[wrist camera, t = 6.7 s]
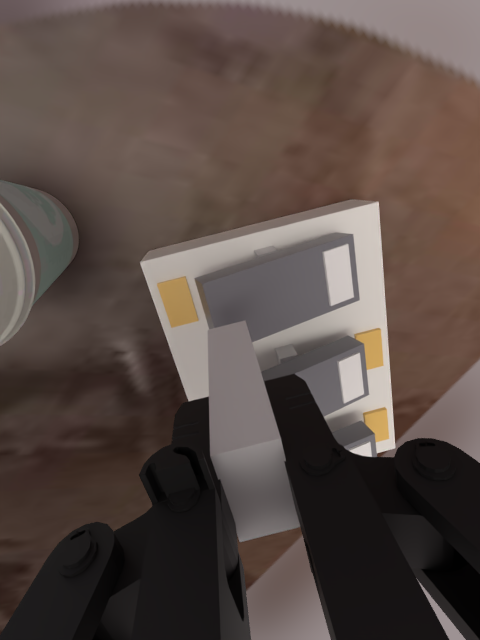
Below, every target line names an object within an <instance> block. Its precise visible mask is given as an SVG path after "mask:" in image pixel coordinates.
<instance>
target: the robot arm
mask: <svg viewBox="0 0 480 640" xmlns="http://www.w3.org/2000/svg"><path fill="white" fill-rule="evenodd" d="M208 377H209V396H208V397H204V398H200V399H196V400H192V401H188V402H184V403H183V404H182V405H181V407H180V408H179V410H178V411H177V413H176V414H175V420H174V427H173V428H174V430H173V435H172V440H173V441H172V443H171V445H168V446H166V447H163V448H162V449H160V450H159V451H157V452H156V453H154V454H153V455H152V456H151V457H150V458H149V459H148V460H147V461H146V463H145V464H144V465H143V467H142V470H141V472H140V474H139V476H140V478H141V481H142V483H143V485H144V487H145V489H146V491H147V493H148V495H149V498H150V500H151V502H152V504H153V505H152V508H150V509H149V510H148V511H147V512H146V513H145V514H143V515H142V516H140V517H139V518H137V519H135V520H134V521H132V522H130V523H128V524H126V525H125V526H123V527H121V528H119V529H117V530H116V531H114V532H113V530H112V529H111V528H110V527H109V526H108V525H107V524H104V523H100V522H95V523H90V524H86V525H84V526H82V527H80V528H78V529H76V530H74V531H72V532H71V533H70V534H69V535H68V536H66V537H65V538H64V539H63V540H62V541H61V542H59V544H58V545H57V546H56V548H55V549H54V550H53V551H52V553H51V554H50V555H49V557H48V558H47V560H46V562H45V563H44V565H43V566H42V568H41V570H40V571H39V573H38V575H37V576H36V578H35V579H34V581H33V583H32V584H31V586H30V588H29V589H28V591H27V592H26V594H25V596H24V597H23V599H22V601H21V602H20V604H19V605H18V607H17V609H16V610H15V612H14V614H13V615H12V617H11V618H10V620H9V622H8V623H7V625H6V627H5V628H4V630H3V631H2V633H1V635H0V640H251V636H250V627H249V617H248V607H247V597H246V588H245V578H244V568H243V565H242V562H241V558H240V555H239V552H238V545H237V535H238V538H239V541H240V542H243V541H247V540H251V539H254V538H258V537H262V536H266V535H270V534H274V533H278V532H282V531H286V530H290V529H294V528H298V527H301V530H302V534H303V538H304V542H305V546H306V551H307V555H308V559H309V563H310V568H311V572H312V573H313V576H314V579H315V583H316V587H317V591H318V594H319V598H320V601H321V605H322V609H323V612H324V616H325V619H326V623H327V626H328V630H329V634H330V637H331V640H449V638H448V636H447V635H446V633H445V631H444V629H443V627H442V625H441V624H440V622H439V620H438V618H437V616H436V614H435V612H434V610H433V609H432V607H431V605H430V603H429V601H428V599H427V597H426V595H425V594H424V592H423V590H422V588H421V586H420V584H419V582H420V583H421V584H422V585H423V587H424V588H425V589H426V590H427V592H428V593H429V594H430V595H431V597H432V598H433V599H434V600H435V602H436V603H437V604H438V605H439V606H440V608H441V609H442V610H443V612H444V613H445V614H446V615H447V617H448V618H449V619H450V620H451V622H452V623H453V624H454V625H455V626H456V628H457V629H458V630H459V632H460V633H461V634H462V635H463V637H464V638H465V639H466V640H480V463H479V462H477V461H476V460H475V459H473V458H472V457H470V456H469V455H468V454H466V453H464V452H463V451H462V450H461V449H459V448H457V447H455V446H453V445H451V444H449V443H447V442H444V441H440V440H436V439H431V438H430V439H429V438H428V439H427V438H418V439H414V440H411V441H407V442H405V443H404V444H403V445H402V446H400V447H399V448H398V449H397V452H396V454H395V457H393V458H392V457H368V456H362V455H358V454H355V453H352V452H350V451H348V450H346V449H345V448H344V447H343V446H342V445H341V444H339V443H338V442H337V441H336V439H335V438H334V436H333V434H332V432H331V430H330V428H329V426H328V424H327V422H326V420H325V418H324V417H323V415H322V413H321V411H320V409H319V407H318V405H317V403H316V402H315V399H314V397H313V395H312V394H311V391H310V389H309V387H308V385H307V383H306V381H305V380H303V379H302V378H300V377H298V376H297V375H295V374H290V375H286V376H282V377H279V378H275V379H271V380H267V381H263V377H262V374H261V371H260V367H259V364H258V361H257V357H256V354H255V351H254V347H253V344H252V341H251V337H250V334H249V331H248V327H247V324H246V321H241V322H237V323H233V324H229V325H225V326H221V327H217V328H213V329H209V330H208ZM236 532H237V534H236ZM416 578H417V579H418V580H419V582H418V580H417V579H416Z"/></svg>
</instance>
